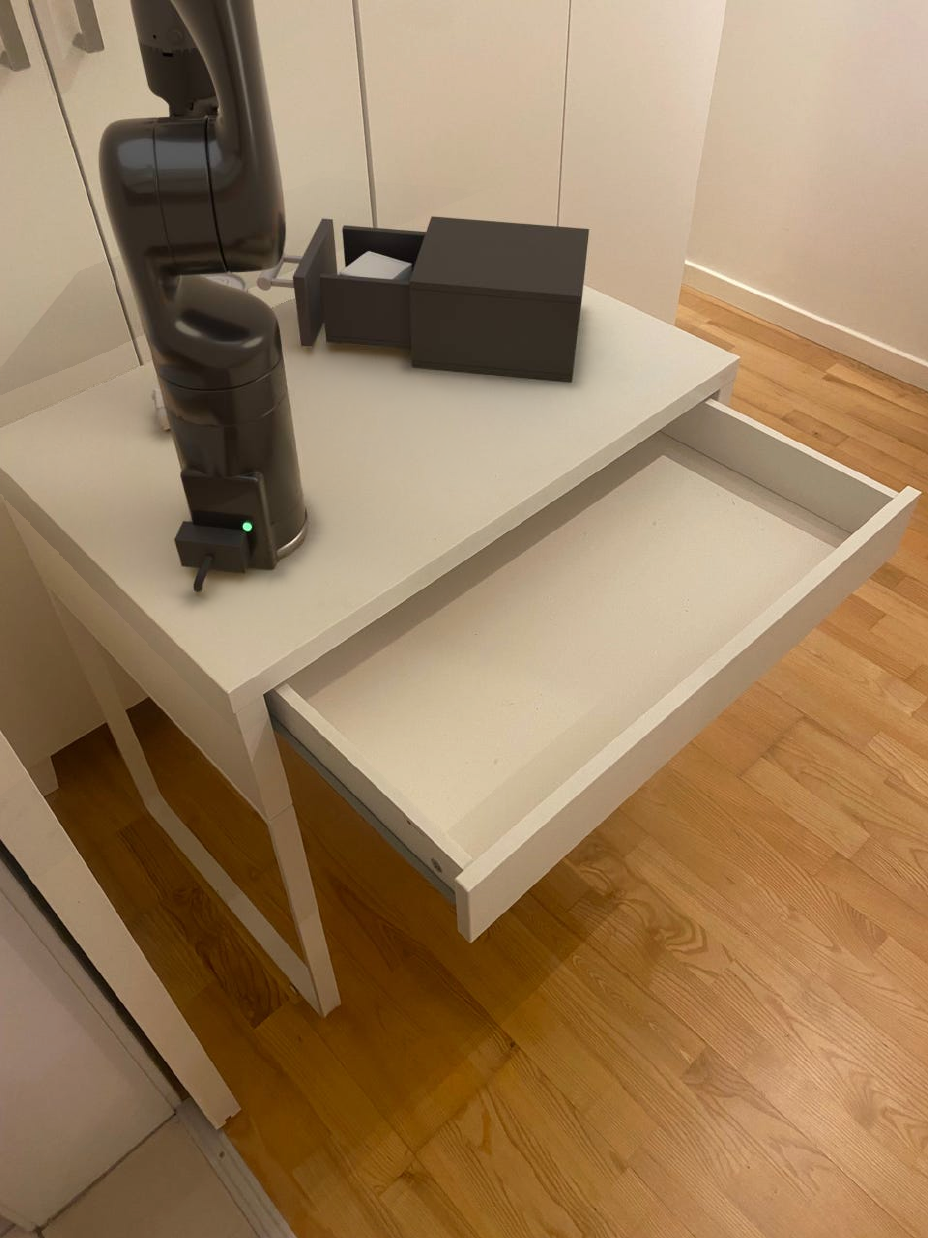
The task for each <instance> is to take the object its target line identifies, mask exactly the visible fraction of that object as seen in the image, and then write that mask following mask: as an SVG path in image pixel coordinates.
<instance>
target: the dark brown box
mask: <svg viewBox="0 0 928 1238" xmlns="http://www.w3.org/2000/svg"><path fill="white" fill-rule="evenodd" d="M425 232H426V234H425V237H424V240H423V243H422V246H421V249H420V252H419V254H418V257H417V260H416V263H415V266H414V269H413V272H412V275H411V278H410V281H409V288H410V289H409V293H410V329H411V350H410V355H411V356H410V360H411V361H410V363H411V368H415V369H426V370H437V371H449V372H458V373H469V374H481V375H489V376H490V375H492V376H503V377H511V378H512V377H513V378H524V379H533V380H534V379H535V380H545V381H546V380H547V381H554V382H555V381H556V382H568V383H572V382H573V379H574V378H573V377H574V369H575V361H576V360H575V359H576V352H577V345H578V343H577V342H578V333H579V326H580V317H581V310H582V300H583V292H584V282H585V272H586V264H587V254H588V244H589V236H590V228H583V227H582V228H580V227H568V226H558V225H546V224H533V223H532V224H531V223H521V222H509V221H507V222H506V221H496V220H485V219H484V220H483V219H482V220H481V219H471V218H459V217H458V218H457V217H445V216H435V215H432V216H431V217H430V220H429V223H428V225H427V228H426V231H425Z"/></svg>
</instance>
